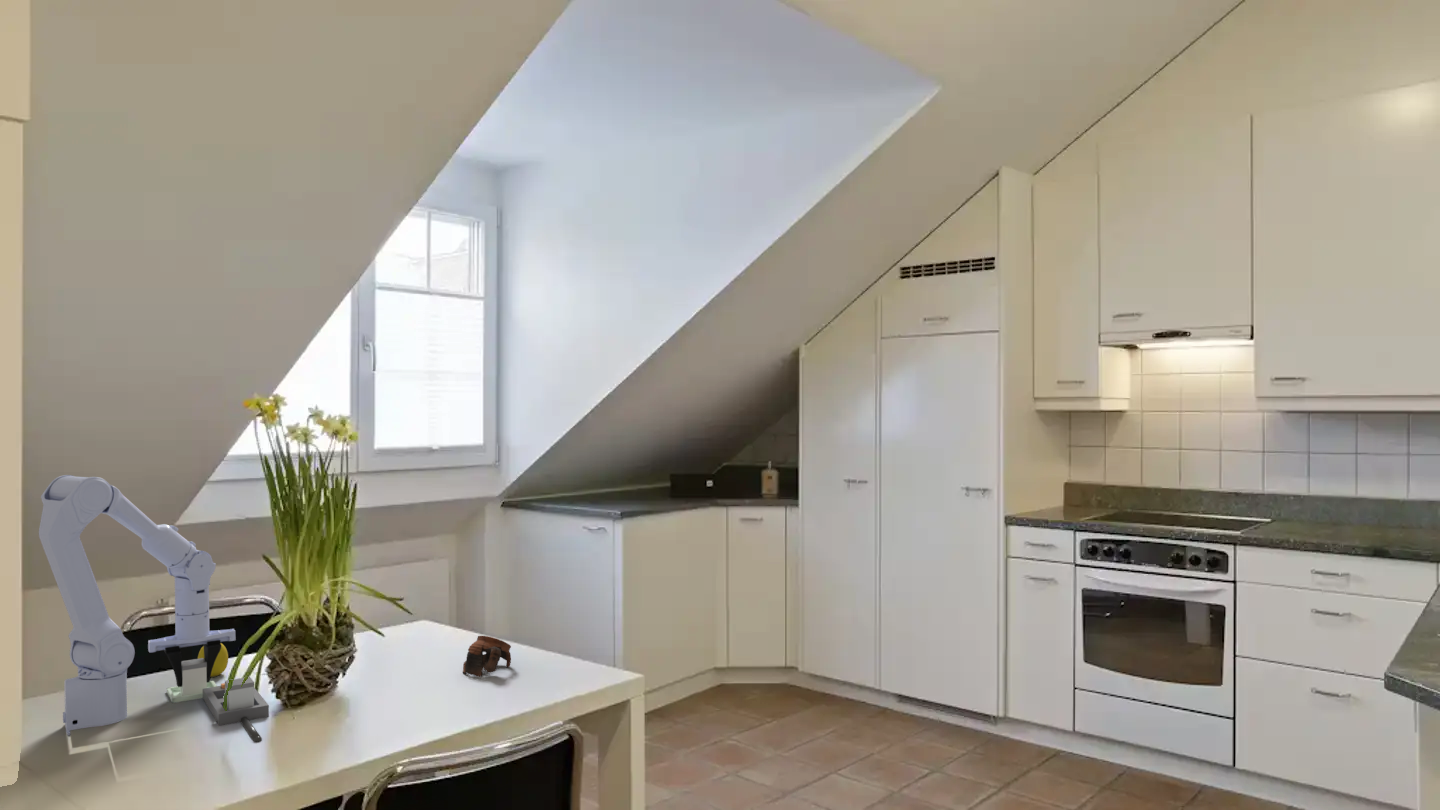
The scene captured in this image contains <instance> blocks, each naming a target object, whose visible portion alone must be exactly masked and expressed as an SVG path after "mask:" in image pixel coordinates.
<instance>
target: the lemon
mask: <svg viewBox="0 0 1440 810" xmlns="http://www.w3.org/2000/svg"><path fill="white" fill-rule="evenodd" d="M220 644H221V650H220V652H219V654H218V656H217V658H216V660H215V662H214V665H213V668H212V672H211V676H210V678H215V677H218V676H220V675H221V674H222V673H224V671H225V670H226V669H227V667H228V663H229V652H228V650H227V648H226V646H225V645H224V644H223V643H222V642H220ZM200 658H204V646H202V647H201V648H200V650H199V652H198V655H197V659H200Z"/></svg>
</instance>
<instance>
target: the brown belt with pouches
mask: <svg viewBox="0 0 1440 810" xmlns="http://www.w3.org/2000/svg"><path fill="white" fill-rule="evenodd" d="M476 638H477V639H476V640H475V641H474V642H473V643H472V644H471V645H469V648H468V649H467V650H468V652H467V654H466V659H465V661H464V662H463V666H462V673H463V672H464V673H463V674H468V675H471V676H472V675H473V676H476V677H480V676H481V677H482V674H483V671H484V670H485V671H486V672H487V673H494V672H496V671H497V668H498V664H499V662H500V659H501V658H502V660H505V661H506V663H505V664H506V666H507V667H506V668H509V667H511V663H512V657H511V652H510V650H511V648H512V646H511V645H510V644H509V643H508V642H505V641H504V640H502V639H498V638H496V637H491V636H486V635H478V636H477V637H476ZM484 653H485V654H484Z"/></svg>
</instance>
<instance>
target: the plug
mask: <svg viewBox="0 0 1440 810" xmlns="http://www.w3.org/2000/svg"><path fill="white" fill-rule="evenodd" d="M206 667H207V662H206V661H205V660H204V658H200V659H198V658H193V659H188V660H182V661H181V672H182V687H180V693H181V695H182V696H186V695H192V694H198V693H203V689H204V688H207V668H206Z"/></svg>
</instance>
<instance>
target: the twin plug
mask: <svg viewBox="0 0 1440 810" xmlns="http://www.w3.org/2000/svg"><path fill="white" fill-rule="evenodd" d="M248 677H249V678H248V679H247V680H246V681H245V683H244V684H243V686H242V687H241V685H242V682H243V680H244V678H245V677H239V678H235V679H234V681H233V686H232V688H231V689H230V690H229V691H228V695H227V710H233V709H238V708H244V707H249V706H254V688H255V681H254V680H253V679H252V677H251V676H248ZM229 680H230V679H227V680H224V683H225V693H226V690H227V688H228V683H229Z"/></svg>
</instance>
